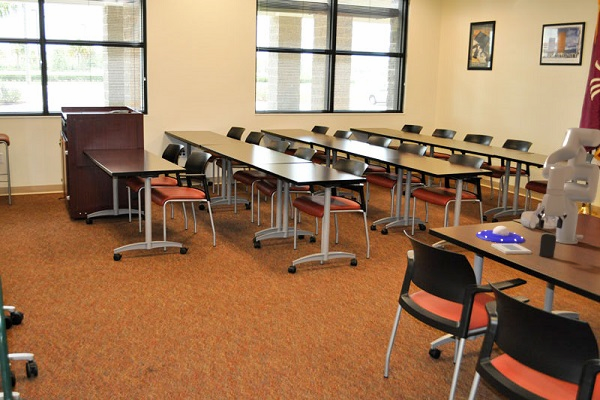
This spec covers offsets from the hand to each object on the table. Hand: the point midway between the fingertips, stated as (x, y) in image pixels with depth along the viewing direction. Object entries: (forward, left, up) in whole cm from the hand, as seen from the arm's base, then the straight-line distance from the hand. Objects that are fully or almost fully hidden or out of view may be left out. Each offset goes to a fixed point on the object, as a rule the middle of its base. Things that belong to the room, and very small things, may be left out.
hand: (550, 227), depth 309 cm
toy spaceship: (+5, -35, -15) cm, 39 cm away
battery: (0, 0, -15) cm, 14 cm away
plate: (+12, -12, -14) cm, 22 cm away
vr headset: (-31, -56, -15) cm, 66 cm away
